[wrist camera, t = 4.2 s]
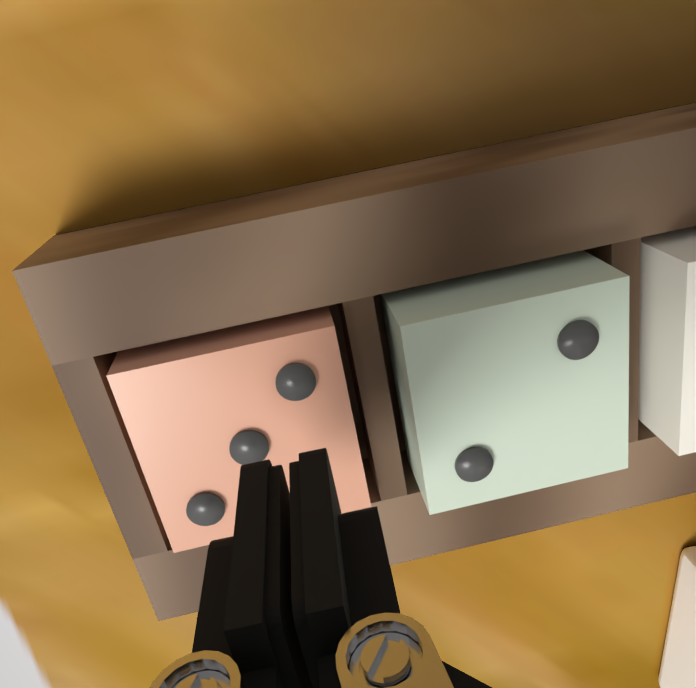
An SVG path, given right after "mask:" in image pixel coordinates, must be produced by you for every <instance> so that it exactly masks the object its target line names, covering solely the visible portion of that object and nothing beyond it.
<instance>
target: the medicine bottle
mask: <svg viewBox="0 0 696 688" xmlns="http://www.w3.org/2000/svg"><path fill="white" fill-rule="evenodd" d="M658 681H659V685H660V687H661V688H696V546H692V547H687V548H684V549H683V551H682V553H681V555H680V561H679V566H678V572H677V578H676V583H675V589H674V594H673V600H672V606H671V611H670V617H669V622H668V628H667V634H666V639H665V645H664V650H663V656H662V662H661V667H660V673H659V678H658Z"/></svg>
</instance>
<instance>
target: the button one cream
mask: <svg viewBox="0 0 696 688" xmlns="http://www.w3.org/2000/svg"><path fill="white" fill-rule="evenodd" d="M638 419H639V420H640V421H641V422H642V423H643V424H644V425H645V426H646V427H647V428H649V429H650V430H651V431H652V432H653V433H654V434H655V435H656V436H657V437H658V438H659V439H661V440H662V441H663V442H664V443H665V444H666V445H667V446H668V447H669V448H670V449H672V450H673V451H674V452H675V453H676V454H677V455H678V456H681V455H686V454H690V453H694V452H696V226H692V227H687V228H683V229H678V230H673V231H669V232H664V233H660V234H655V235H650V236H646V237H641V256H640V327H639V397H638Z"/></svg>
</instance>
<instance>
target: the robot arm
mask: <svg viewBox="0 0 696 688" xmlns="http://www.w3.org/2000/svg"><path fill="white" fill-rule="evenodd" d="M289 484H290V493H289V489H288V485H287V481H286V478H285V474H284V470H283V467H282V465H276V466H272V464H271V461H270V460H269V459H268V460H263V461H258V462H254V463H249V464H244V465H241V468H240V477H239V487H238V496H237V506H236V516H235V525H234V535H233V536H232V537H227V538H222V539H217V540H212V541H211V542H210V543H209V547H208V552H207V559H206V565H205V572H204V578H203V585H202V591H201V598H200V604H199V611H198V617H197V624H196V630H195V637H194V643H193V650H192V653H190V654H188V655H186V656H184V657H182V658H180V659H178V660H176V661H174V662H173V663H172V664H170V665H169V666H168V667H167V668H165V669H164V670H163V671H162V672H161V673H160V674H159V675H158V677H157V678H156V679H155V680H154V681H153V682H152V684H151V686H150V688H492V687H490V686H488V685H486V684H484V683H482V682H480V681H479V680H477V679H475V678H473V677H471V676H469V675H467V674H465V673H464V672H462V671H460V670H458V669H456V668H454V667H452V666H450V665H449V664H447V663H445V662H443V661H441V659H440V656H439V654H438V652H437V650H436V648H435V645H434V643H433V641H432V639H431V637H430V635H429V634H428V632H427V631H426V629H425V628H424V626H423V625H421V624H420V623H419V622H417V621H416V620H414V619H413V618H411V617H408V616H405V615H402V614H400V610H399V605H398V601H397V596H396V591H395V587H394V582H393V577H392V573H391V568H390V564H389V559H388V554H387V550H386V545H385V540H384V536H383V531H382V527H381V522H380V517H379V513H378V508H377V506H376V507H371V508H366V509H362V510H357V511H352V512H347V513H341V509H340V504H339V500H338V496H337V491H336V487H335V483H334V478H333V474H332V470H331V465H330V461H329V456H328V452H327V449H326V448H322V449H317V450H312V451H307V452H302V453H299V461H295V462H290V463H289Z"/></svg>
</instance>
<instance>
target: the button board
mask: <svg viewBox="0 0 696 688" xmlns="http://www.w3.org/2000/svg"><path fill="white" fill-rule="evenodd" d="M692 226H696V103H692V104H687V105H682V106H677V107H673V108H668V109H663V110H658V111H653V112H648V113H644V114H639V115H634V116H629V117H624V118H619V119H615V120H610V121H605V122H600V123H595V124H590V125H586V126H581V127H576V128H571V129H566V130H562V131H557V132H552V133H547V134H542V135H537V136H533V137H528V138H523V139H518V140H513V141H508V142H504V143H499V144H494V145H489V146H484V147H479V148H475V149H470V150H465V151H460V152H455V153H451V154H446V155H441V156H436V157H431V158H426V159H422V160H417V161H412V162H407V163H402V164H397V165H393V166H388V167H383V168H378V169H373V170H368V171H364V172H359V173H354V174H349V175H344V176H339V177H335V178H330V179H325V180H320V181H315V182H311V183H306V184H301V185H296V186H291V187H286V188H282V189H277V190H272V191H267V192H262V193H257V194H253V195H248V196H243V197H238V198H233V199H228V200H224V201H219V202H214V203H209V204H204V205H199V206H195V207H190V208H185V209H180V210H175V211H171V212H166V213H161V214H156V215H151V216H146V217H142V218H137V219H132V220H127V221H122V222H117V223H113V224H108V225H103V226H98V227H93V228H88V229H84V230H79V231H74V232H69V233H64V234H60V235H55V236H53V237H52V238H51V239H49V240H48V241H47V242H46V243H45V244H44V245H42V246H41V247H40V248H39V249H38V250H36V251H35V252H34V253H33V254H32V255H30V256H29V257H28V258H27V259H26V260H24V261H23V262H22V263H21V264H20V265H18V266H17V267H16V268H15V269H14V270H13V271H12V272H13V274H14V276H15V279H16V281H17V284H18V286H19V288H20V291H21V293H22V295H23V298H24V300H25V303H26V305H27V307H28V310H29V312H30V315H31V317H32V319H33V322H34V324H35V327H36V329H37V331H38V334H39V336H40V339H41V341H42V343H43V346H44V348H45V350H46V353H47V355H48V358H49V360H50V362H51V365H52V367H53V370H54V372H55V374H56V377H57V379H58V382H59V384H60V386H61V389H62V391H63V394H64V396H65V398H66V401H67V403H68V406H69V408H70V410H71V413H72V415H73V417H74V420H75V422H76V425H77V427H78V429H79V432H80V434H81V437H82V439H83V441H84V444H85V446H86V449H87V451H88V453H89V456H90V458H91V461H92V463H93V465H94V468H95V470H96V472H97V475H98V477H99V480H100V482H101V484H102V487H103V489H104V492H105V494H106V496H107V499H108V501H109V504H110V506H111V508H112V511H113V513H114V516H115V518H116V520H117V523H118V525H119V527H120V530H121V532H122V535H123V537H124V539H125V542H126V544H127V547H128V549H129V551H130V554H131V556H132V559H133V561H134V563H135V566H136V568H137V571H138V573H139V575H140V578H141V580H142V583H143V585H144V587H145V590H146V592H147V594H148V597H149V599H150V602H151V604H152V606H153V609H154V611H155V614H156V616H157V618H158V621H161V620H165V619H169V618H173V617H177V616H182V615H186V614H190V613H194V612H198V611H199V604H200V598H201V591H202V585H203V578H204V572H205V565H206V559H207V552H208V547H209V545H206V546H202V547H197V548H193V549H189V550H185V551H180V552H176V553H174V552H173V550H172V547H171V544H170V542H169V539H168V537H167V534H166V531H165V529H164V526H163V523H162V521H161V518H160V516H159V513H158V510H157V508H156V505H155V502H154V500H153V497H152V495H151V492H150V489H149V487H148V484H147V481H146V479H145V476H144V474H143V471H142V468H141V466H140V463H139V460H138V458H137V455H136V453H135V450H134V447H133V445H132V442H131V439H130V437H129V434H128V432H127V429H126V426H125V424H124V421H123V418H122V416H121V413H120V411H119V408H118V405H117V403H116V400H115V397H114V395H113V392H112V390H111V387H110V384H109V382H108V379H107V376H106V375H107V373H108V371H109V369H110V367H111V365H112V363H113V361H114V359H115V357H116V354H117V352H118V351H122V350H126V349H131V348H135V347H140V346H145V345H149V344H154V343H158V342H163V341H168V340H172V339H177V338H181V337H186V336H191V335H195V334H200V333H204V332H209V331H214V330H218V329H223V328H227V327H232V326H237V325H241V324H246V323H250V322H255V321H260V320H264V319H269V318H273V317H278V316H283V315H287V314H292V313H296V312H301V311H306V310H310V309H315V308H319V307H324V306H328V307H329V310H330V313H331V316H332V320H333V323H334V326H335V331H336V336H337V341H338V346H339V350H340V355H341V360H342V365H343V370H344V375H345V380H346V385H347V390H348V395H349V399H350V404H351V409H352V414H353V419H354V424H355V429H356V434H357V439H358V444H359V449H360V453H361V458H362V463H363V468H364V473H365V478H366V483H367V488H368V493H369V498H370V502H371V507H376V506H377V508H378V513H379V517H380V522H381V527H382V531H383V536H384V540H385V545H386V550H387V554H388V559H389V564H390V565H394V564H398V563H402V562H407V561H411V560H415V559H419V558H423V557H427V556H432V555H436V554H440V553H444V552H448V551H452V550H457V549H461V548H465V547H469V546H473V545H477V544H482V543H486V542H490V541H494V540H498V539H502V538H507V537H511V536H515V535H519V534H523V533H527V532H532V531H536V530H540V529H544V528H548V527H552V526H557V525H561V524H565V523H569V522H573V521H577V520H582V519H586V518H590V517H594V516H598V515H602V514H607V513H611V512H615V511H619V510H623V509H627V508H632V507H636V506H640V505H644V504H648V503H652V502H657V501H661V500H665V499H669V498H673V497H677V496H682V495H686V494H690V493H694V492H696V452H694V453H690V454H686V455H681V456H678V455H677V454H676V453H675V452H674V451H673V450H672V449H670V448H669V447H668V446H667V445H666V444H665V443H664V442H663V441H662V440H661V439H659V438H658V437H657V436H656V435H655V434H654V433H653V432H652V431H651V430H650V429H649V428H647V427H646V426H645V425H644V424H643V423H642V422H641V421H640V420H639V419H638V397H639V327H640V256H641V237H646V236H650V235H655V234H660V233H664V232H669V231H673V230H678V229H683V228H687V227H692ZM581 250H584V251H585V252H587V253H589V254H591V255H593V256H594V257H596V258H598V259H600V260H602V261H604V262H605V263H607V264H609V265H611V266H613V267H614V268H616V269H618V270H620V271H622V272H623V273H625V274H627V275H629V276H630V277H629V424H628V468H626V469H622V470H618V471H614V472H610V473H605V474H601V475H597V476H593V477H588V478H584V479H580V480H576V481H572V482H567V483H563V484H559V485H555V486H550V487H546V488H542V489H538V490H533V491H529V492H525V493H521V494H517V495H512V496H508V497H504V498H500V499H495V500H491V501H487V502H483V503H479V504H474V505H470V506H466V507H462V508H457V509H453V510H449V511H445V512H440V513H436V514H432V515H429V512H428V510H427V507H426V504H425V502H424V499H423V497H422V494H421V492H420V489H419V487H418V484H417V482H416V479H415V477H414V474H413V471H412V469H411V466H410V464H409V461H408V458H407V452H406V446H405V440H404V434H403V428H402V422H401V416H400V410H399V404H398V398H397V392H396V386H395V381H394V375H393V369H392V363H391V357H390V351H389V345H388V339H387V333H386V327H385V321H384V315H383V309H382V303H381V297H380V294H384V293H388V292H393V291H398V290H402V289H407V288H411V287H416V286H421V285H425V284H430V283H434V282H439V281H443V280H448V279H453V278H457V277H462V276H466V275H471V274H476V273H480V272H485V271H489V270H494V269H499V268H503V267H508V266H512V265H517V264H522V263H526V262H531V261H535V260H540V259H545V258H549V257H554V256H558V255H563V254H568V253H572V252H577V251H581ZM371 507H368V508H371ZM363 509H366V508H363ZM359 510H362V509H359ZM355 511H357V510H355ZM351 512H352V511H351ZM346 513H347V512H346Z"/></svg>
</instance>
